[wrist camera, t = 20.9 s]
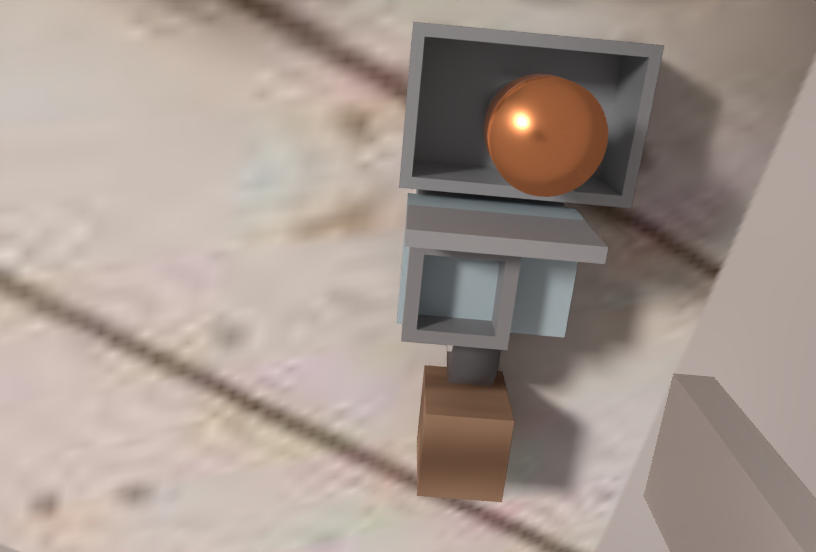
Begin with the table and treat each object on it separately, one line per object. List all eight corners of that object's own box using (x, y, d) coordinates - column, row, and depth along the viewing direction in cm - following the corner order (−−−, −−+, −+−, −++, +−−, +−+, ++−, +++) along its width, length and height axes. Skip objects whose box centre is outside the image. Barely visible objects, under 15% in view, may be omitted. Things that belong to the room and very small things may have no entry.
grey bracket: (408, 179, 41) (406, 229, 31) (562, 193, 41) (608, 247, 31) (393, 349, 45) (386, 442, 35) (534, 361, 45) (567, 457, 35)
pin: (476, 59, 38) (498, 73, 28) (563, 67, 38) (618, 84, 28) (466, 147, 40) (483, 191, 29) (550, 155, 40) (596, 201, 29)
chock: (424, 364, 45) (425, 414, 39) (502, 371, 45) (514, 421, 39) (417, 438, 47) (417, 495, 41) (491, 444, 47) (501, 502, 41)
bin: (413, 21, 38) (413, 21, 33) (633, 42, 38) (664, 45, 33) (401, 168, 41) (399, 187, 36) (606, 187, 41) (631, 208, 36)
